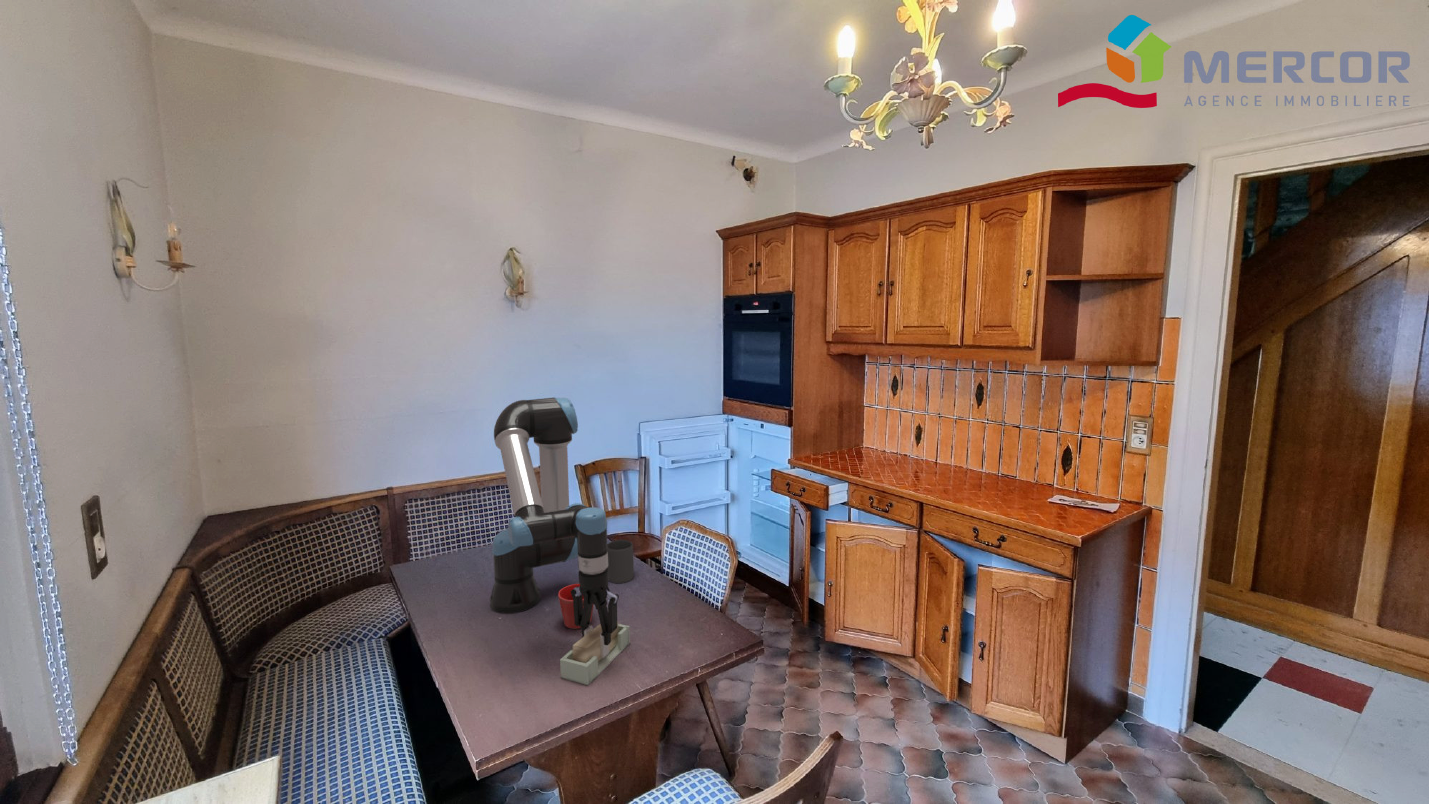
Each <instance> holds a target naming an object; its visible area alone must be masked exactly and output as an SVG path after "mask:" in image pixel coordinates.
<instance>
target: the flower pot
mask: <svg viewBox="0 0 1429 804" xmlns="http://www.w3.org/2000/svg"><path fill="white" fill-rule="evenodd" d="M577 586H578V587H580V584H579V583H574V584H573V583H572V584H570V585H567V586H564V587H562V588H561V589H560V590H559V591H558V594H557V595H558V600H559V601H558V602H559V606H560V611H561V615H562V618H563V619H562V620H563V623H564V626H566V628H569V629H575V630H577V629H581V627H580V626H576V625H575V620H574V607H573V598H572V595H571V590H573V589H574V588H575V587H577ZM582 600H583V601H584V597H583V596H582ZM583 607H584V606H583ZM594 607H595V605H594V604H593V606H592V612H591V619H590V623H592V619H593V611H594Z"/></svg>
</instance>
